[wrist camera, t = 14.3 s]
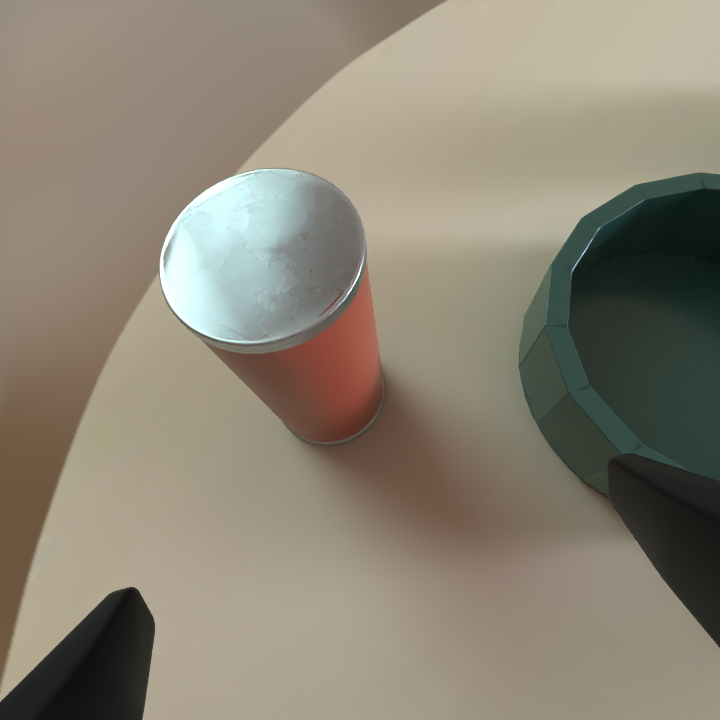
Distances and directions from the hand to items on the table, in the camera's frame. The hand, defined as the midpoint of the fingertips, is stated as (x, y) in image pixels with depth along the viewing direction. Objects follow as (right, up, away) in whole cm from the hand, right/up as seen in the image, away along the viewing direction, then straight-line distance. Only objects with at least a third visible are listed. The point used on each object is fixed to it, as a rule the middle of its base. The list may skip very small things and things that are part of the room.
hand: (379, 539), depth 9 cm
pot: (+15, +3, +14) cm, 21 cm away
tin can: (-2, +2, +16) cm, 16 cm away
